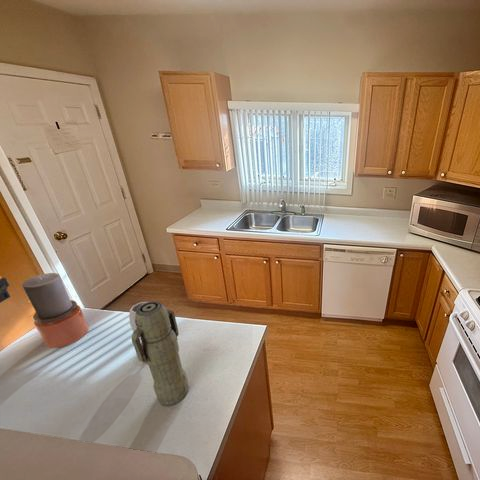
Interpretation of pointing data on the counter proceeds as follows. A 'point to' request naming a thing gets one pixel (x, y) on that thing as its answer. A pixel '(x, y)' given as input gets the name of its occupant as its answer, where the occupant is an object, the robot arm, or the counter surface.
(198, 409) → the counter surface
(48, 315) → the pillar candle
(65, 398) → the counter surface
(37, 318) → the jar
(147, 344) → the thermos
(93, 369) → the counter surface
